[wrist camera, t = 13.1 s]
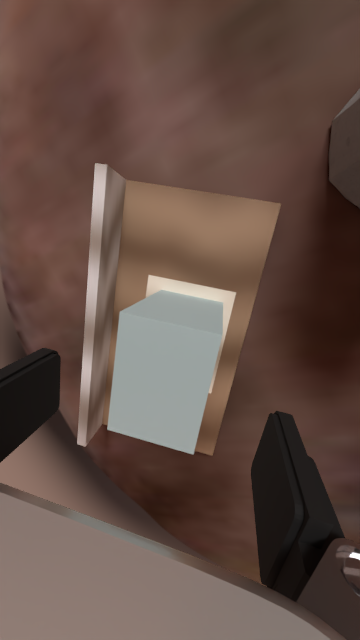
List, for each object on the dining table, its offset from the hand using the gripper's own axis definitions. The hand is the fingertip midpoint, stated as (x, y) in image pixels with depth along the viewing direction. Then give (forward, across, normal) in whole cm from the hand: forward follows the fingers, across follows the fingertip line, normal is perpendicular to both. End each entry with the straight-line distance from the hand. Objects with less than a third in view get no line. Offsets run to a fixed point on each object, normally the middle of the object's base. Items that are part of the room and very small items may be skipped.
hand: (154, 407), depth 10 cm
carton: (+10, +1, 0) cm, 10 cm away
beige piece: (+12, +2, 0) cm, 12 cm away
